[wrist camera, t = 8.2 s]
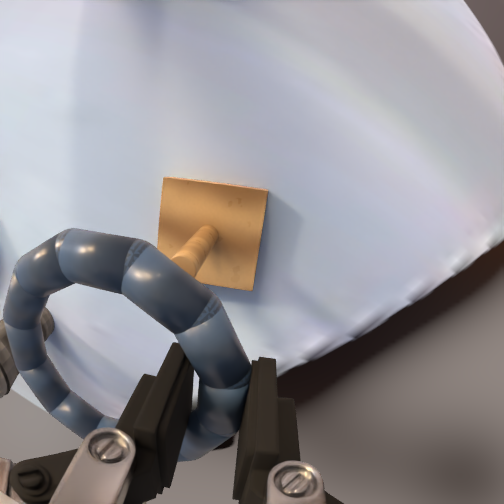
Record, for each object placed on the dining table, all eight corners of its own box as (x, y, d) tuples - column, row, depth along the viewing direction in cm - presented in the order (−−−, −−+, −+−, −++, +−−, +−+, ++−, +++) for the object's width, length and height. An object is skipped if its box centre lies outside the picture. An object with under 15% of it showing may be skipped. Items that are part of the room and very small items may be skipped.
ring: (12, 211, 9) (-17, 220, 7) (273, 254, 9) (275, 272, 7) (45, 404, 11) (30, 423, 10) (232, 459, 11) (229, 487, 10)
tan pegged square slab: (167, 176, 26) (116, 184, 16) (268, 189, 26) (270, 204, 17) (159, 271, 29) (115, 321, 19) (252, 286, 29) (247, 346, 19)
